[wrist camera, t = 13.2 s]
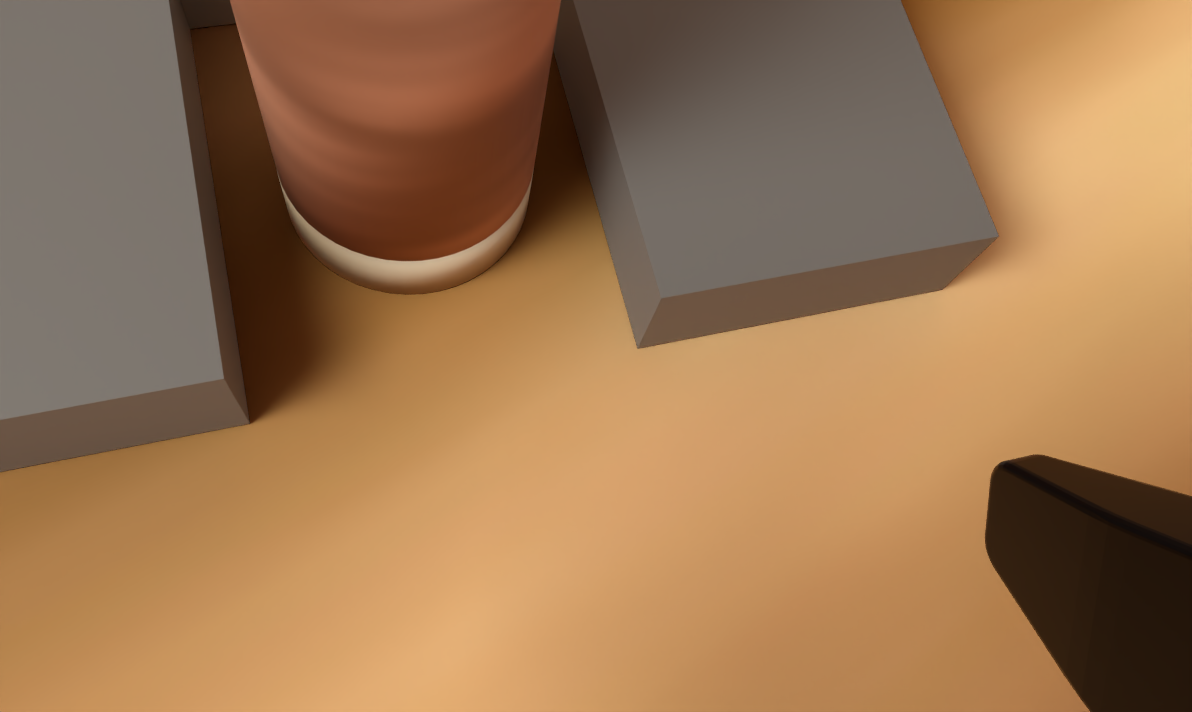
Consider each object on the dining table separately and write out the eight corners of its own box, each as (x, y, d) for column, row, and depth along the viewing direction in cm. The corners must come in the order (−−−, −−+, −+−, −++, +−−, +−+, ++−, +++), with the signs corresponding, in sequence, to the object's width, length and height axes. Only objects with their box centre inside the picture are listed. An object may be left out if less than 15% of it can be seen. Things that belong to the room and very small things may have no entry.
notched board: (942, 289, 23) (999, 236, 20) (-161, 502, 18) (-250, 466, 16) (740, -227, 27) (768, -318, 25) (-175, -159, 23) (-244, -262, 21)
